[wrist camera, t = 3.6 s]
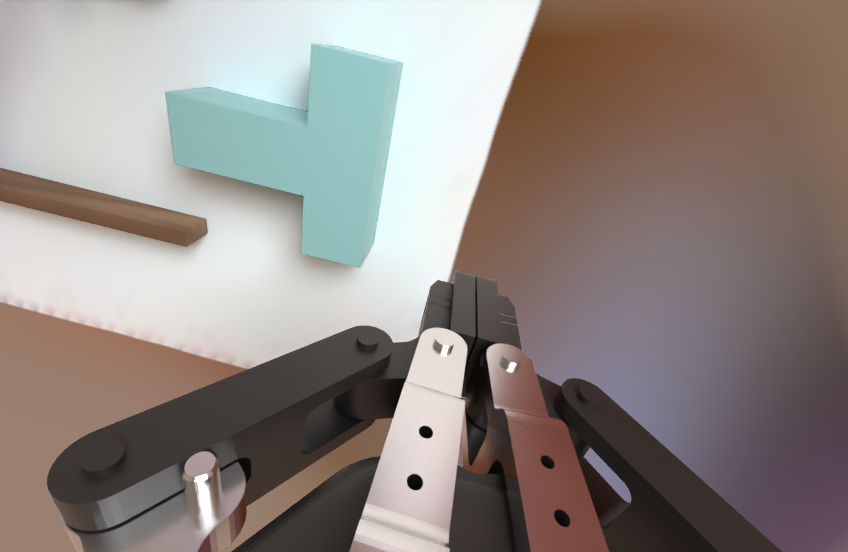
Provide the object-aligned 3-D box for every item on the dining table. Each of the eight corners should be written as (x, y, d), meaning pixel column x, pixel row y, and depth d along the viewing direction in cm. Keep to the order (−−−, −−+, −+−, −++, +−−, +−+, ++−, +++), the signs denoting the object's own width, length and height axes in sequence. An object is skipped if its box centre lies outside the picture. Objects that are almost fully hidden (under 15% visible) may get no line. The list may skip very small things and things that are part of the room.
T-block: (203, 12, 22) (153, 4, 19) (403, 62, 22) (389, 63, 19) (217, 203, 28) (182, 223, 25) (373, 242, 28) (359, 267, 25)
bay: (-163, -138, 20) (-238, -161, 18) (180, -52, 21) (146, -64, 18) (-33, 173, 29) (-73, 182, 27) (207, 232, 30) (186, 246, 27)
